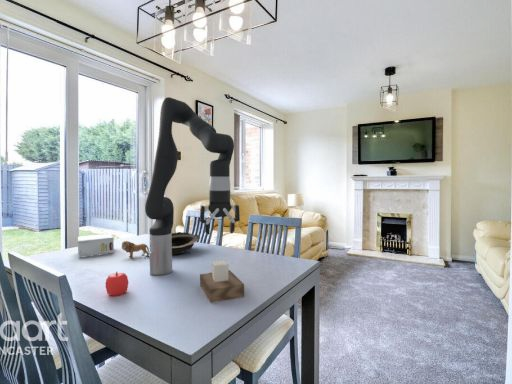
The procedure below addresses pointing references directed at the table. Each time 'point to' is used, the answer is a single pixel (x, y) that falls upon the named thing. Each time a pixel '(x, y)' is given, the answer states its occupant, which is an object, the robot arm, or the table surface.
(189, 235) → the dark brown round bowl
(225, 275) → the cream block
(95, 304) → the table surface
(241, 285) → the walnut plinth
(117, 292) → the apple
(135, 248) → the lion figurine
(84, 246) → the supplement box
